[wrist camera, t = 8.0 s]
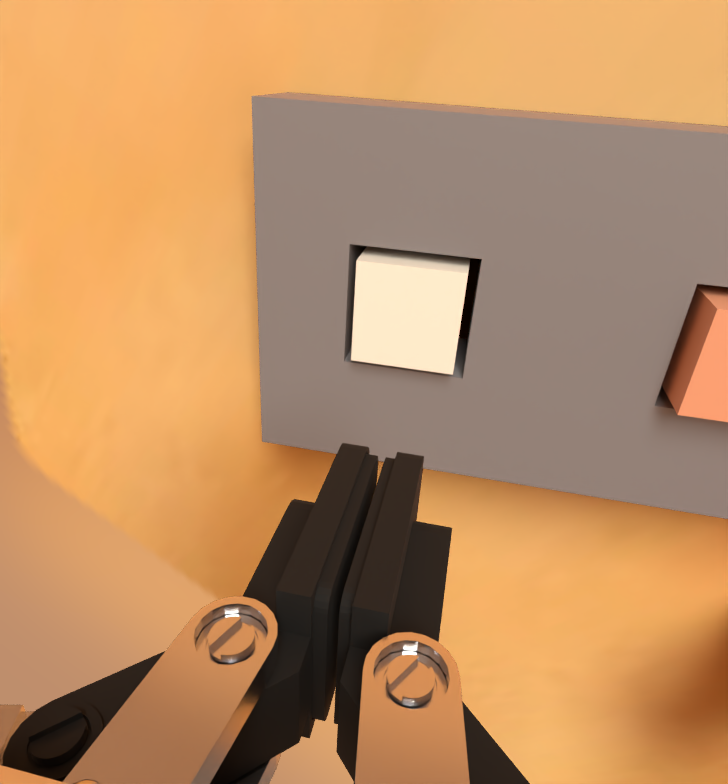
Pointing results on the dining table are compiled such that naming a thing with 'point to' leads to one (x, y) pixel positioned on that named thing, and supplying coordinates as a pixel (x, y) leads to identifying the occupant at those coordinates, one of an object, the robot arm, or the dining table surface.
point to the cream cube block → (408, 308)
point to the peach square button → (701, 358)
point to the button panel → (495, 289)
